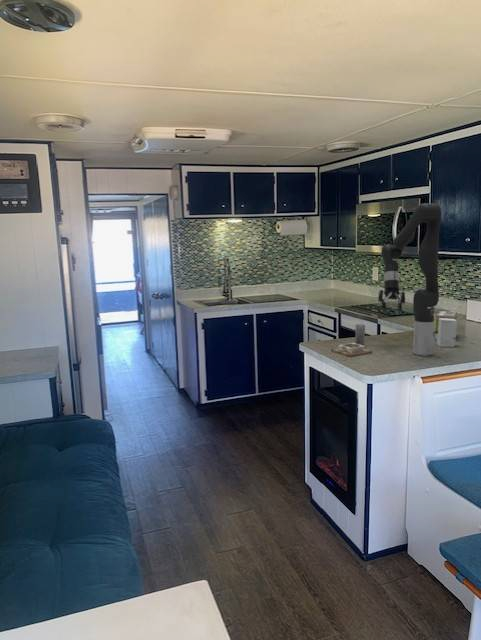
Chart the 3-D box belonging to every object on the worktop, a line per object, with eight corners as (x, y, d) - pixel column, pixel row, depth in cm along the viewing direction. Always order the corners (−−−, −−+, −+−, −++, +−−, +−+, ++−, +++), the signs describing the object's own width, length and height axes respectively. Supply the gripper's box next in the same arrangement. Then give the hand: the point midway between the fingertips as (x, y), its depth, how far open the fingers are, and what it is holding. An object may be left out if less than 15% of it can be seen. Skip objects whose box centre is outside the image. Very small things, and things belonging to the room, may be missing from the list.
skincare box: (439, 346, 258) (441, 320, 255) (436, 344, 264) (438, 317, 261) (455, 347, 257) (457, 320, 254) (452, 344, 263) (454, 318, 260)
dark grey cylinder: (366, 346, 262) (367, 325, 259) (359, 347, 259) (360, 326, 257) (360, 344, 266) (360, 323, 264) (353, 346, 264) (353, 324, 261)
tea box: (438, 334, 288) (440, 310, 285) (456, 336, 283) (458, 311, 280) (434, 339, 275) (436, 314, 272) (453, 341, 270) (455, 315, 267)
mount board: (372, 353, 248) (372, 346, 247) (350, 357, 241) (350, 350, 240) (352, 347, 261) (353, 341, 260) (331, 350, 254) (331, 344, 253)
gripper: (382, 278, 252) (382, 308, 249) (407, 280, 254) (407, 310, 251) (376, 281, 259) (376, 310, 256) (400, 283, 261) (400, 312, 259)
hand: (391, 310), depth 254 cm, fingers open, 8 cm apart
